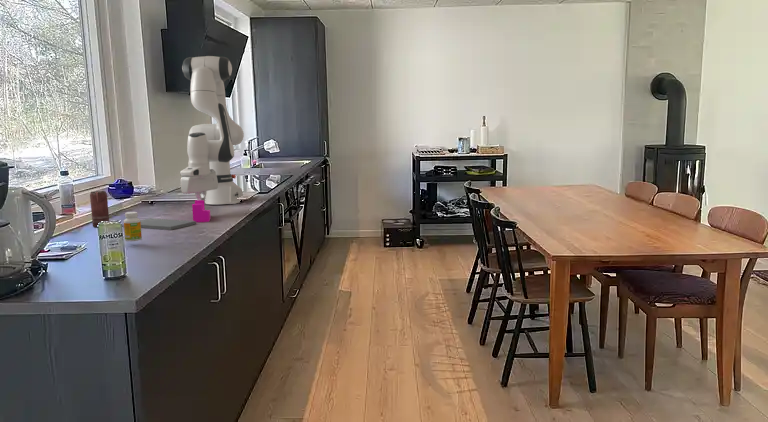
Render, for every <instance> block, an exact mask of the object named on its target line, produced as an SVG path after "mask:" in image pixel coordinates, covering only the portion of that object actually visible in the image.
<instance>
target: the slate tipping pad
mask: <svg viewBox="0 0 768 422" xmlns="http://www.w3.org/2000/svg"><path fill="white" fill-rule="evenodd" d="M140 221H141V229H150V230H151V229H152V230H166V231H167V230H168V231H173V230H176V229H181V228H185V227H188V226H189V227H190V226H193V225H196V224H197V222H196V221H193V220H183V219H181V220H179V219H169V218H168V219H167V218H153V217H149V218H145V219H140Z"/></svg>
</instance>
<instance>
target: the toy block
mask: <svg viewBox="0 0 768 422" xmlns="http://www.w3.org/2000/svg"><path fill="white" fill-rule="evenodd" d="M191 209H192V221H196V223H209V222H210V220H211V217H212V216H211V210H209V209H206V206H205V201H204V200H197V199H196V200H194V203H192V204H191Z"/></svg>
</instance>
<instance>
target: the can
mask: <svg viewBox="0 0 768 422" xmlns="http://www.w3.org/2000/svg"><path fill="white" fill-rule="evenodd" d="M89 200H90V210H91V222H92V226H93V228H98V227H97V225H98V223H99V222H101V221H109V222H110V214H109V202H108V201H109V200H108V193H107V192H106V191H105V190H98V191H90V194H89Z"/></svg>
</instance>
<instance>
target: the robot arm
mask: <svg viewBox="0 0 768 422" xmlns="http://www.w3.org/2000/svg"><path fill="white" fill-rule="evenodd" d="M181 69H182V73H183V76H184V77H185V78H186V79H187V80H188V81H190V87H189V88H190V102H191V105H192V106H193V107H194V109H196V110H197V111H199V112H200V113H203V114H206V115H207V116H209V117H211V118H213V119H215V121H216V123H201V124H196V125H193V126H191V127H190V129H189V132H188V136H187V143H186V146H187V147H186V149H187V150H186V151H187V156H188V161H187V162H188V163H187V164H188V166H186V167H185V168H184V169H182V170H180V172H179V174H180V176H181V178H180V191H181V192H182V193H181V194H184V195H185V194H186V195H187V194H188V195H189V194H194V195H195V197H196V200H204V205H205V204H206V205H231V204H233V205H235V204H239V203H241V202H240V201H241V200H237V198H239V197H241V196H243V197H244V195H243V189H242V188H241V186H239V185H238V184H237V183H235V181H234V179H236V178H237V175H236V174H231V163H230V161H231V160H233V158H234V157H235V148H234V146H237V145H240V144H241V143H242V142H243V140H244V131H243V130H244V129H243V128H242V127H241V126H240V125H239V124H238V123H236V122H235V121H234V120H233V118H232V117H231V115H230V113H229V111H228V107H227V100H226V99H227V98H226V90H225V89H226V88H225V83H226V80H229V79H230V78H231V76H232V71H233V65H232V62H231V60H230V59H229V58H228V57H225V56H215V55H214V56H213V55H206V56H205V55H204V56H195V57H194V56H189V57H186V58H185V59H184V60H183V62H182V66H181Z"/></svg>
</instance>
